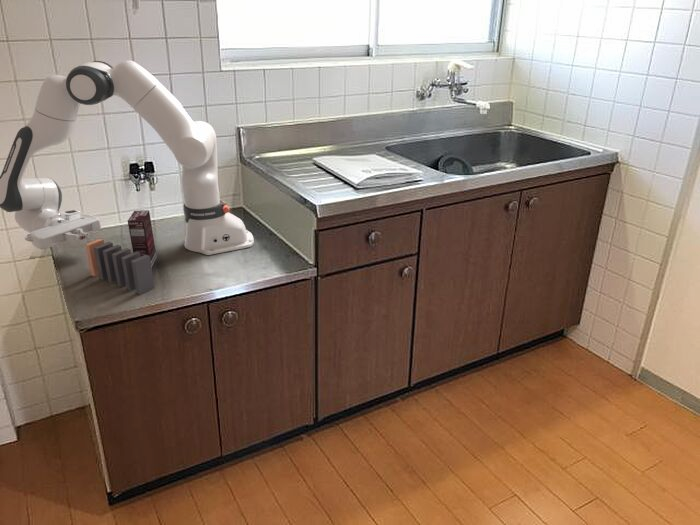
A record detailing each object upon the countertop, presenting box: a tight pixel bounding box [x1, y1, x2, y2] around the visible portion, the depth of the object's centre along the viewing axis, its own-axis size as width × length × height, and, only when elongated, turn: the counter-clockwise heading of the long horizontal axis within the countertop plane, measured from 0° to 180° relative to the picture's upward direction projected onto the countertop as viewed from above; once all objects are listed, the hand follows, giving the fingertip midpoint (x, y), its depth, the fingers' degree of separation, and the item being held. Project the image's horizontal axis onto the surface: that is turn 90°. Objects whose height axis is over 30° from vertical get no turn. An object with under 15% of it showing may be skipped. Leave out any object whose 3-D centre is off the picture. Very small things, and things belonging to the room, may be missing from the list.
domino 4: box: [112, 247, 132, 288], centre depth 169 cm, size 2×5×10 cm, turn 147°
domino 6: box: [131, 255, 156, 296], centre depth 165 cm, size 2×5×10 cm, turn 147°
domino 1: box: [84, 238, 105, 278], centre depth 175 cm, size 2×5×10 cm, turn 147°
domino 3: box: [103, 244, 123, 285], centre depth 171 cm, size 2×5×10 cm, turn 147°
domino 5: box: [121, 251, 141, 292], centre depth 167 cm, size 2×5×10 cm, turn 147°
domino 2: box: [94, 241, 114, 281], centre depth 173 cm, size 2×5×10 cm, turn 147°
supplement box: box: [127, 209, 158, 268], centre depth 179 cm, size 9×5×16 cm, turn 5°
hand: (82, 237), depth 175 cm, fingers closed
